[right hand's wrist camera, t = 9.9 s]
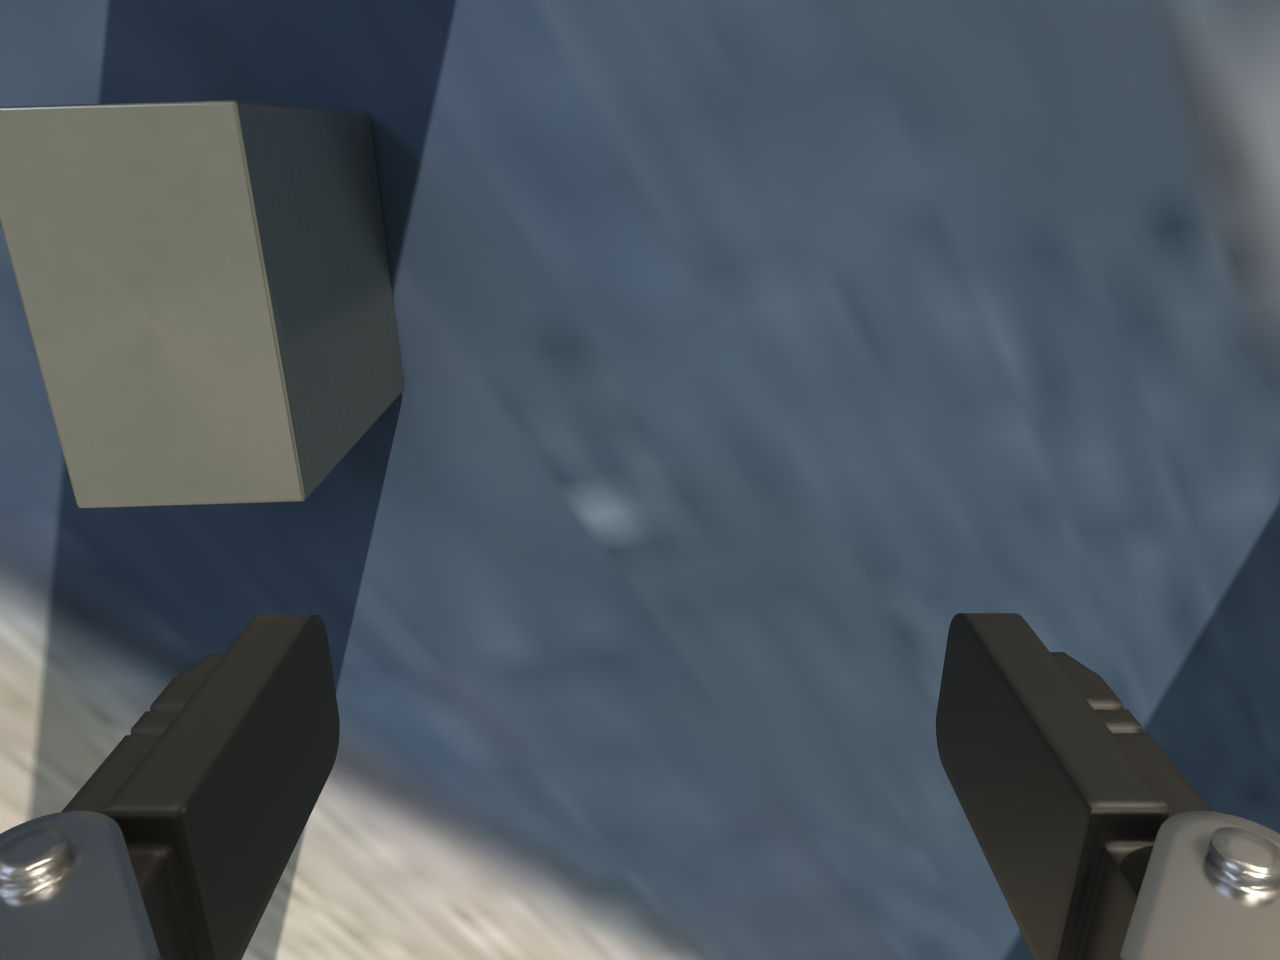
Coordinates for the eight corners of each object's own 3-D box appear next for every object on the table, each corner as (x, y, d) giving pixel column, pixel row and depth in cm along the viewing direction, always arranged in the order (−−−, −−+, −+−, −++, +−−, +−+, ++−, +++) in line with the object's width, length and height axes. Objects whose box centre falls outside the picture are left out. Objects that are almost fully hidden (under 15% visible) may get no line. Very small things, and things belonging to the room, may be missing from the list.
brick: (246, 395, 27) (76, 509, 19) (193, 118, 24) (-33, 107, 16) (405, 390, 27) (305, 502, 19) (370, 112, 24) (235, 99, 16)
